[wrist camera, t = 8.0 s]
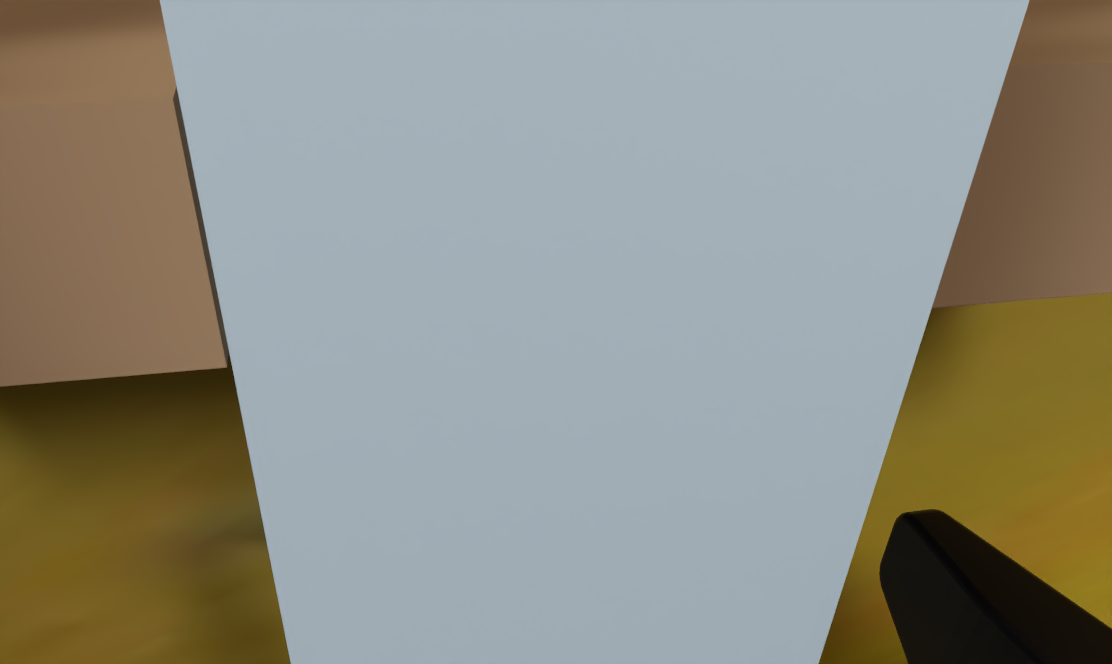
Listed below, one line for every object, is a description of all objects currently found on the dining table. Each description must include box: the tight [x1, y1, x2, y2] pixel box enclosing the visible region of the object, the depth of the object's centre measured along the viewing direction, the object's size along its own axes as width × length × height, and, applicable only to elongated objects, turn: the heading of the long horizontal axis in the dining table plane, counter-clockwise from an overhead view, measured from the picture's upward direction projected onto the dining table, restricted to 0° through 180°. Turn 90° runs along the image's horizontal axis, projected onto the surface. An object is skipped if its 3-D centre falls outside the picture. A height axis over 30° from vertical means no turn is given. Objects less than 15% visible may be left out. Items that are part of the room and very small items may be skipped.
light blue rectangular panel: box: [160, 0, 1029, 664], centre depth 10 cm, size 14×2×9 cm, turn 178°
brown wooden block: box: [0, 0, 1112, 387], centre depth 9 cm, size 14×2×5 cm, turn 88°
